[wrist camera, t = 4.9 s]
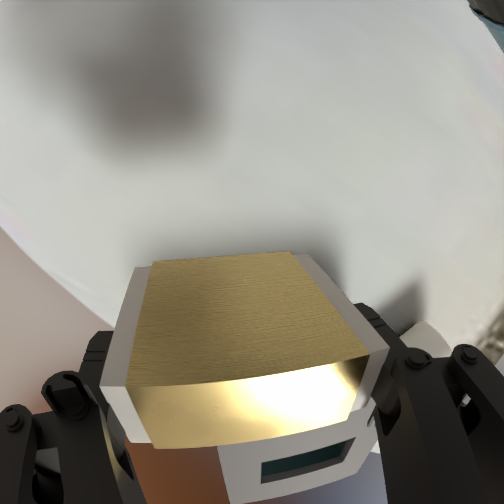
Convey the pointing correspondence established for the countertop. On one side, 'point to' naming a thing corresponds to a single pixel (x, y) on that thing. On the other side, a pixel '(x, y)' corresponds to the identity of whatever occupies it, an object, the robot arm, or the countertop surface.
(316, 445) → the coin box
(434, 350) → the mug
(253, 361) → the gold block
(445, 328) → the countertop surface
